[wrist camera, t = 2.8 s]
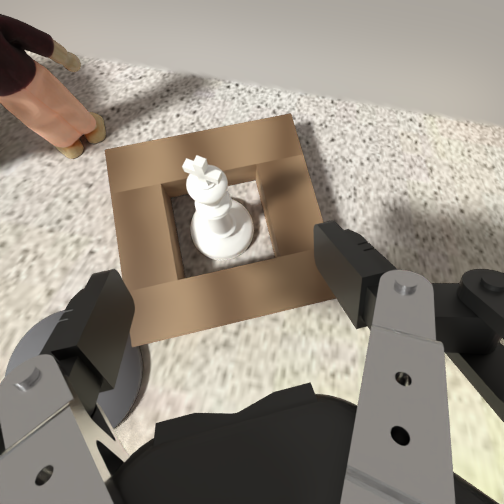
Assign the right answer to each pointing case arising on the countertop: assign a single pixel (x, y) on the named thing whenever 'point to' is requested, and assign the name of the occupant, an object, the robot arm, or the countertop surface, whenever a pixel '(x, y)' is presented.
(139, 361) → the coaster
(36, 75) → the grandmother figurine
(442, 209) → the countertop surface
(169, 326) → the board
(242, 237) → the chess piece
